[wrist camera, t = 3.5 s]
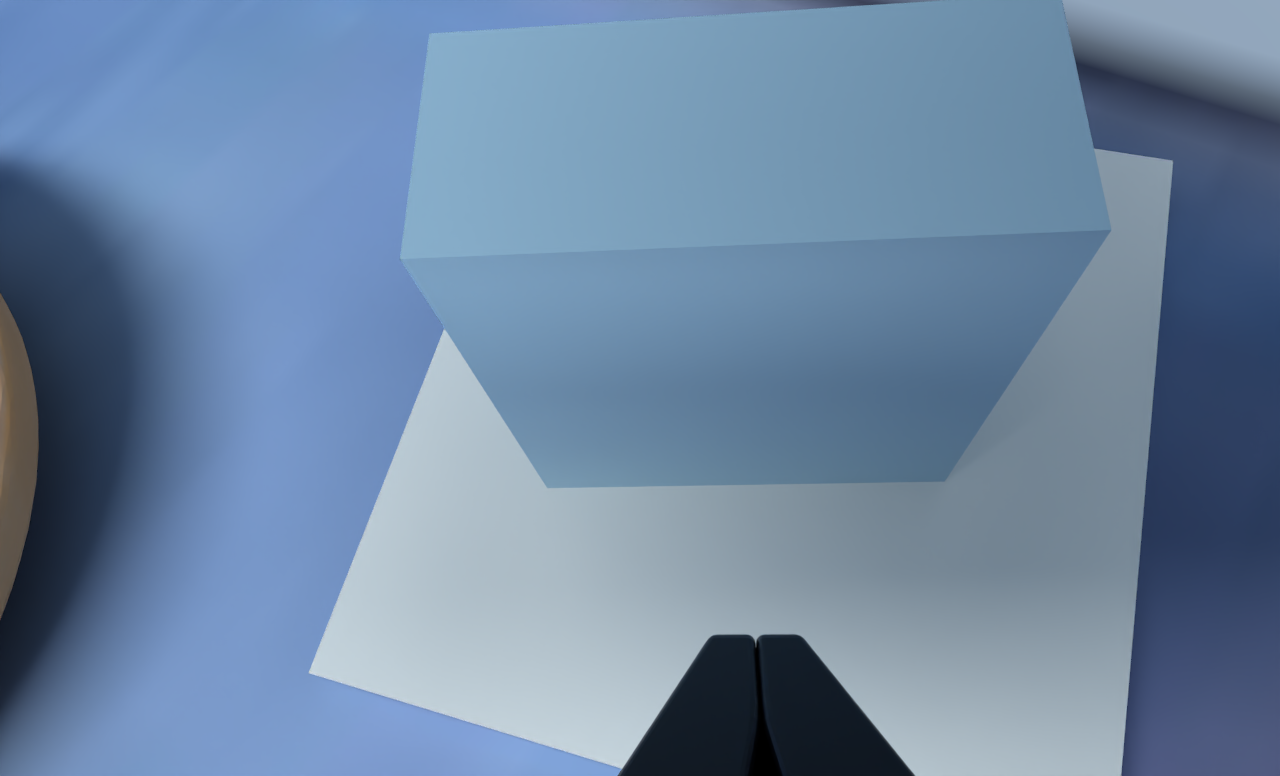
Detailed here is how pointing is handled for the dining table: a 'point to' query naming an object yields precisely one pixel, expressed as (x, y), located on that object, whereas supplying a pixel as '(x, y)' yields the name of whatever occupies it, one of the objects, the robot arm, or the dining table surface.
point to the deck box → (753, 233)
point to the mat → (794, 559)
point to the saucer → (15, 449)
